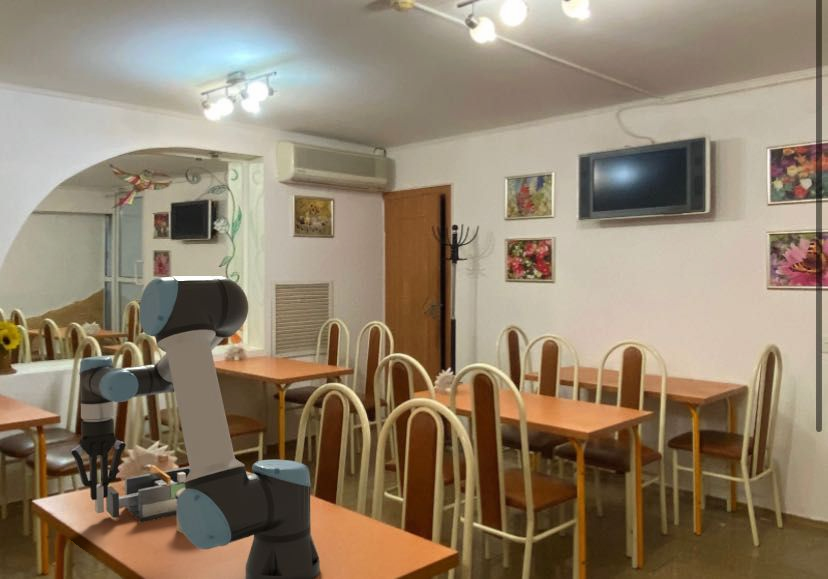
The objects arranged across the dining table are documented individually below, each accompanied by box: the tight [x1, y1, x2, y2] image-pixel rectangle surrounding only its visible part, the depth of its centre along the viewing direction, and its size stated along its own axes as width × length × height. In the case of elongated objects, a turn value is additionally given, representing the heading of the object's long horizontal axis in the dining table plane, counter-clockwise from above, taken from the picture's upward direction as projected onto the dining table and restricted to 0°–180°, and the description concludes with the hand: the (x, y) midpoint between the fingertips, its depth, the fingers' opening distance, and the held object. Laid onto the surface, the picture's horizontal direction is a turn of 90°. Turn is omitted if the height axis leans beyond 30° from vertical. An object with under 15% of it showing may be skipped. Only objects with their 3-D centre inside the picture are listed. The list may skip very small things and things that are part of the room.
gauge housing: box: [124, 465, 190, 523], centre depth 183 cm, size 14×18×8 cm
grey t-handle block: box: [105, 464, 175, 519], centre depth 180 cm, size 14×16×9 cm
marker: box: [177, 472, 186, 482], centre depth 180 cm, size 2×2×2 cm
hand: (99, 511), depth 173 cm, fingers closed
